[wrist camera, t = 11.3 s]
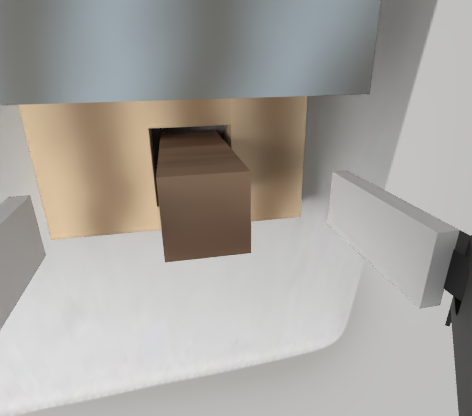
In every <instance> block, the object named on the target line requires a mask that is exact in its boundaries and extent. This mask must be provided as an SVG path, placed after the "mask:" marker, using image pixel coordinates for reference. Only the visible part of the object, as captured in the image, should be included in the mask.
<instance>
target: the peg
mask: <svg viewBox="0 0 472 416" xmlns="http://www.w3.org/2000/svg"><path fill="white" fill-rule="evenodd" d="M156 182H157V191H158V200H159V210H160V219H161V228H162V237H163V246H164V256H165V262H172V261H181V260H190V259H199V258H208V257H217V256H227V255H236V254H245V253H251V171H250V170H249V169H248V167H247V166H246V165H245V164H244V163H243V162H242V161H241V159H240V158H239V157H238V156H237V155H236V154H235V152H234V151H233V150H232V149H231V148H230V147H229V146H228V144H227V143H226V142H225V141H224V140H223V139H222V138H221V136H220V135H219V134H218V133H217V132H216V131H215V130H201V131H180V132H161V136H160V145H159V155H158V164H157V173H156Z"/></svg>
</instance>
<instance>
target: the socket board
mask: <svg viewBox="0 0 472 416" xmlns="http://www.w3.org/2000/svg"><path fill="white" fill-rule="evenodd" d="M380 6H381V0H0V105H18V107H19V111H20V116H21V120H22V124H23V128H24V132H25V136H26V140H27V144H28V148H29V152H30V156H31V160H32V164H33V168H34V172H35V177H36V181H37V185H38V189H39V193H40V197H41V201H42V205H43V209H44V213H45V217H46V221H47V225H48V229H49V234H50V238H51V240H55V239H66V238H77V237H87V236H98V235H109V234H120V233H131V232H141V231H152V230H162V228H161V219H160V210H159V200H158V191H157V182H156V169H155V160H154V150H153V141H152V132H151V128H172V127H195V126H218V125H224V132H225V142H226V143H227V144H228V146H229V147H230V148H231V149H232V150H233V151H234V152H235V154H236V155H237V156H238V157H239V158H240V159H241V161H242V162H243V163H244V164H245V165H246V166H247V167H248V169H249V170H250V171H251V221H260V220H271V219H282V218H292V217H300V215H301V198H302V181H303V164H304V147H305V130H306V113H307V96H325V95H359V94H370V87H371V78H372V70H373V62H374V54H375V46H376V38H377V30H378V22H379V14H380Z"/></svg>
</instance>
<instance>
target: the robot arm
mask: <svg viewBox="0 0 472 416" xmlns="http://www.w3.org/2000/svg"><path fill="white" fill-rule="evenodd" d="M327 225H328V226H330V227H331V228H332V229H333V230H334V231H335V232H336V233H337V234H338V235H339V236H341V237H342V238H343V239H344V240H345V241H346V242H347V243H348V244H349V245H350V246H352V247H353V248H354V249H355V250H356V251H357V252H358V253H359V254H360V255H361V256H362V257H364V258H365V259H366V260H367V261H368V262H369V263H370V264H371V265H372V266H374V267H375V268H376V269H377V270H378V271H379V272H380V273H381V274H382V275H384V276H385V277H386V278H387V279H388V280H389V281H390V282H391V283H392V284H393V285H394V286H395V287H397V288H398V289H399V290H400V291H401V292H402V293H403V294H404V295H405V296H406V297H408V298H409V299H410V300H411V301H412V302H413V303H414V304H415V305H416V306H417V307H419V308H426V307H432V306H437V305H440V303H441V299H442V295H443V292H444V289H445V290H447V291H448V292H449V293H450V294H452V295H453V300H452V303H451V307H450V310H449V314H448V317H447V321H446V324H445V325H446V326H450V323H451V322H452V332H453V344H454V357H455V370H456V383H457V395H458V409H459V416H472V235H471V236H470V235H468V234H466V233H464V232H462V231H460V230H458V229H457V228H455V227H453V226H451V225H449V224H447V223H445V222H443V221H441V220H440V219H438V218H436V217H434V216H432V215H430V214H428V213H426V212H424V211H423V210H421V209H419V208H417V207H415V206H413V205H411V204H409V203H407V202H406V201H404V200H402V199H400V198H398V197H396V196H394V195H392V194H390V193H388V192H386V191H385V190H383V189H381V188H379V187H377V186H375V185H373V184H372V183H370V182H368V181H366V180H364V179H362V178H360V177H358V176H356V175H355V174H353V173H351V172H349V171H337V172H332V182H331V192H330V203H329V213H328V223H327ZM45 256H46V254H45V250H44V247H43V243H42V239H41V235H40V231H39V228H38V224H37V220H36V216H35V212H34V209H33V205H32V201H31V197H30V195H29V196H16V197H8V198H7V199H6V200H5V201H4V202H3V203H1V204H0V330H1V328H2V326H3V325H4V323H5V321H6V320H7V318H8V317H9V315H10V313H11V312H12V310H13V308H14V307H15V305H16V303H17V302H18V300H19V299H20V297H21V295H22V294H23V292H24V290H25V289H26V287H27V285H28V284H29V282H30V280H31V279H32V277H33V276H34V274H35V272H36V271H37V269H38V267H39V266H40V264H41V262H42V261H43V259H44V257H45Z"/></svg>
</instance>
